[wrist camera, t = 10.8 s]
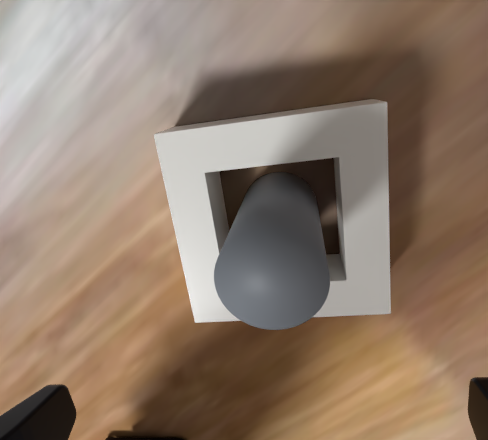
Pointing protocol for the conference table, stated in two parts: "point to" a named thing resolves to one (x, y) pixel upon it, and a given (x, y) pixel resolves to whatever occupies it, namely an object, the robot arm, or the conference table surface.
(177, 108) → the conference table surface
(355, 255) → the socket block
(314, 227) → the peg
